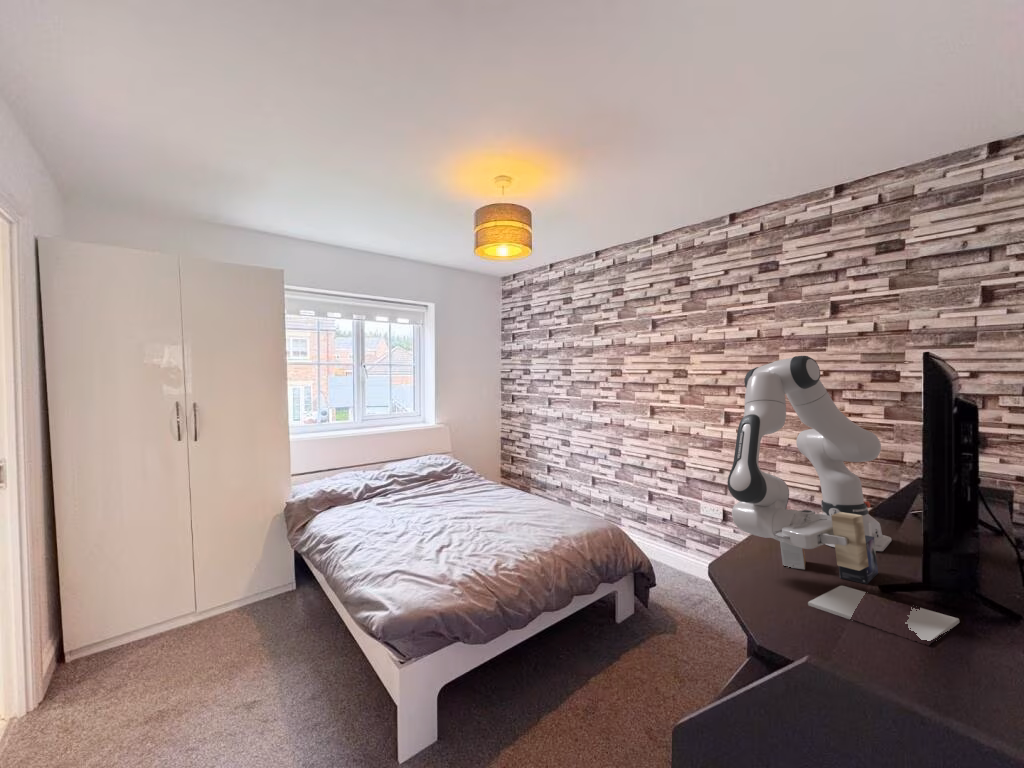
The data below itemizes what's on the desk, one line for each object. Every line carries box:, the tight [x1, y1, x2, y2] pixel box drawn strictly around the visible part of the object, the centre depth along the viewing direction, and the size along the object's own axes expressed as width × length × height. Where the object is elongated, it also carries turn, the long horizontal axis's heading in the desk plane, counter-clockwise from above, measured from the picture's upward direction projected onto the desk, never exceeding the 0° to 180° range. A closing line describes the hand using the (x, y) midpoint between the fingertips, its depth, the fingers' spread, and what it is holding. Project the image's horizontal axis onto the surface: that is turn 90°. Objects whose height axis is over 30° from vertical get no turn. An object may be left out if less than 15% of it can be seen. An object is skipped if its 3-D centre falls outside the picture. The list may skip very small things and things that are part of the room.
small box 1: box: [779, 541, 807, 570], centre depth 128 cm, size 8×6×10 cm
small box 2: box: [838, 535, 879, 585], centre depth 117 cm, size 11×6×10 cm, turn 127°
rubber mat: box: [807, 585, 960, 641], centre depth 97 cm, size 16×22×1 cm
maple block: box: [831, 512, 869, 571], centre depth 101 cm, size 4×4×12 cm
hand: (853, 539), depth 100 cm, fingers closed on maple block, 4 cm apart
